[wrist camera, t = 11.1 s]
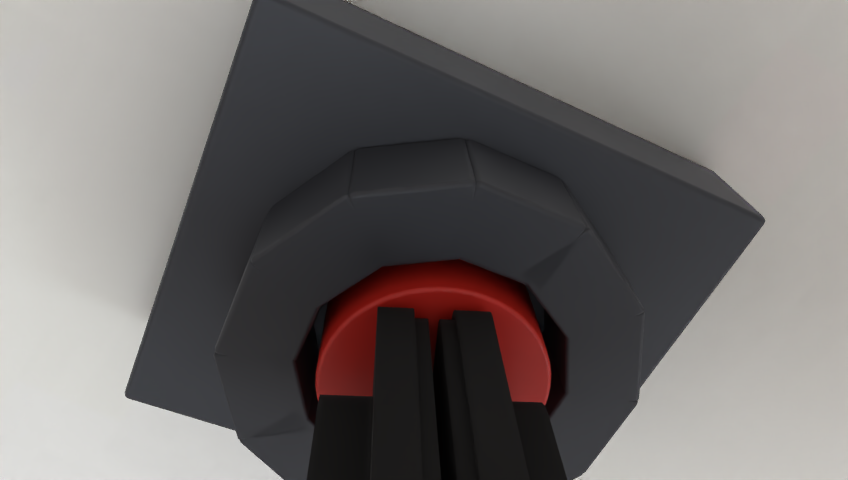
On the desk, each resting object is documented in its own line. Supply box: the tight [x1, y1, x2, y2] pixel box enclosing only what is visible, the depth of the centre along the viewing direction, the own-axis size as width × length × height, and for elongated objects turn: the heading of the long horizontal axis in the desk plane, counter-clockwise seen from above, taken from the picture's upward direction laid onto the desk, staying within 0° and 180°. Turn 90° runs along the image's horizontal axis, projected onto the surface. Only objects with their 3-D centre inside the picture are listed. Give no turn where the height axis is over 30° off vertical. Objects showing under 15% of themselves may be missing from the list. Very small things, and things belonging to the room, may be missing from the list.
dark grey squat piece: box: [125, 0, 765, 480], centre depth 12 cm, size 9×8×4 cm
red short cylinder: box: [315, 259, 551, 405], centre depth 11 cm, size 4×4×2 cm
